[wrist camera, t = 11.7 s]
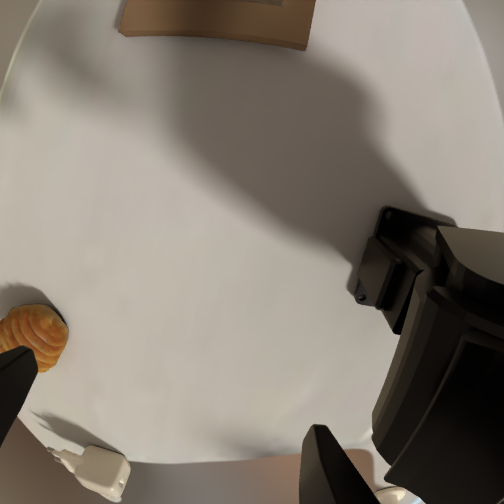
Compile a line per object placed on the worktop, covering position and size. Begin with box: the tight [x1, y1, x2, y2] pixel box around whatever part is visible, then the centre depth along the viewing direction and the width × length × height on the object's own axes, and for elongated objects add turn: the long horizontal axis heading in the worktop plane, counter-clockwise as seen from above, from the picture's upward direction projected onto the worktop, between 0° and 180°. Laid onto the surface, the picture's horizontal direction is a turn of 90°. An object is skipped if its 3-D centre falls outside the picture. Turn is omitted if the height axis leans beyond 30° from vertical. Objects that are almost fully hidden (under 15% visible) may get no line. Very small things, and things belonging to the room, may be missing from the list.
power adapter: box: [47, 445, 130, 498], centre depth 27 cm, size 11×5×6 cm, turn 88°
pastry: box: [0, 304, 69, 373], centre depth 21 cm, size 9×7×4 cm
